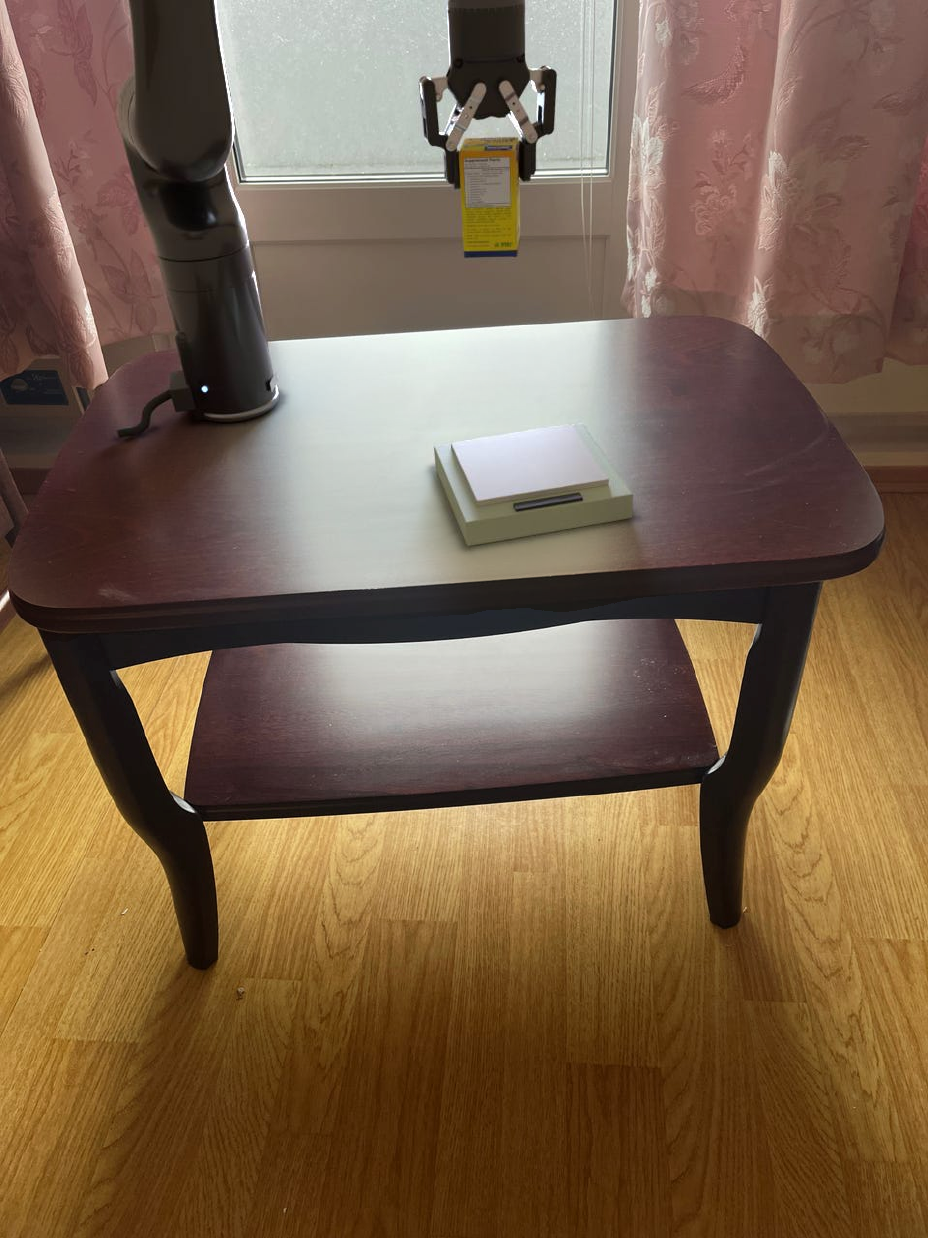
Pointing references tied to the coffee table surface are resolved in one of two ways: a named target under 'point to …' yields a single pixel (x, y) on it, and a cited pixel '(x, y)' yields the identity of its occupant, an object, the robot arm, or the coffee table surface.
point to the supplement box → (490, 196)
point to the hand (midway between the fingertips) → (490, 183)
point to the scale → (530, 483)
